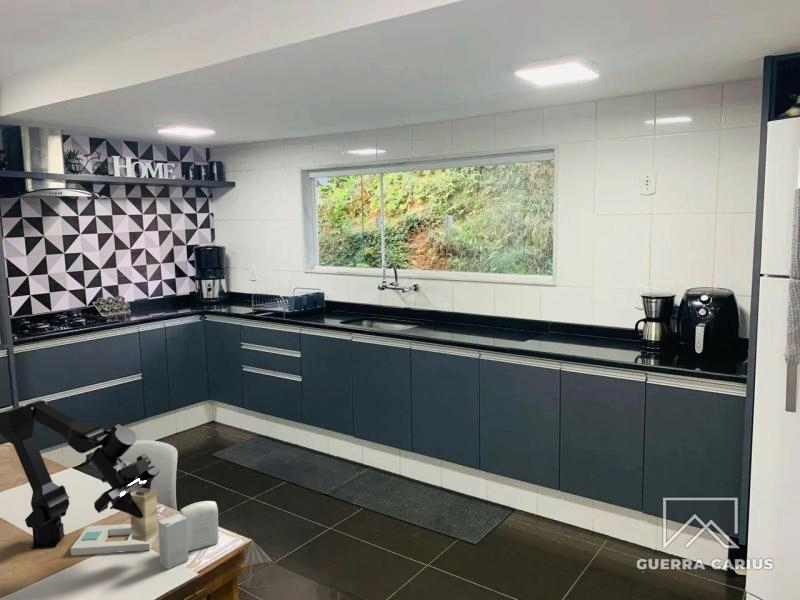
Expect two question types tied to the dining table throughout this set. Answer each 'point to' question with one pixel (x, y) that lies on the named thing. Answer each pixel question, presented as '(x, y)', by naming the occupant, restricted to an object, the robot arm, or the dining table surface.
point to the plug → (145, 515)
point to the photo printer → (201, 524)
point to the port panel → (97, 535)
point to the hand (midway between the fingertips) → (148, 513)
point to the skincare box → (173, 541)
